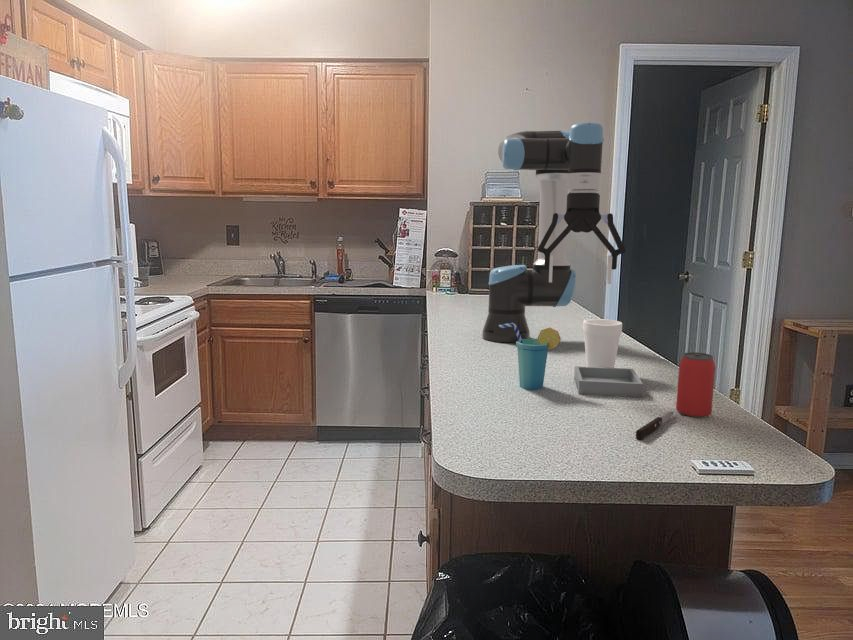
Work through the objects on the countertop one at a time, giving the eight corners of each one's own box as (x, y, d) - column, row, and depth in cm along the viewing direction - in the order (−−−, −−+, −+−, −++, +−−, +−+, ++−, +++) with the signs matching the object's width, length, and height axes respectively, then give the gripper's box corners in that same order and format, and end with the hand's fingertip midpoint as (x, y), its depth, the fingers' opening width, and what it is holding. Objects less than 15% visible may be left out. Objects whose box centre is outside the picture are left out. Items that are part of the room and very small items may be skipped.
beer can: (709, 410, 126) (714, 353, 124) (712, 420, 120) (718, 360, 118) (674, 406, 128) (679, 350, 126) (676, 416, 122) (681, 357, 120)
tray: (574, 378, 150) (574, 366, 149) (632, 380, 148) (632, 368, 147) (578, 393, 137) (579, 380, 136) (642, 397, 135) (643, 383, 134)
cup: (498, 390, 139) (499, 325, 136) (496, 381, 147) (497, 319, 144) (560, 392, 138) (563, 326, 136) (555, 382, 146) (558, 320, 143)
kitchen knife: (640, 442, 108) (641, 431, 108) (635, 440, 109) (635, 429, 109) (676, 417, 122) (676, 407, 122) (671, 416, 123) (671, 406, 122)
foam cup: (620, 378, 150) (623, 326, 148) (581, 376, 152) (584, 324, 150) (616, 369, 159) (619, 319, 157) (580, 367, 161) (582, 318, 159)
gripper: (529, 191, 142) (526, 282, 146) (641, 191, 138) (635, 285, 141) (530, 193, 150) (527, 279, 153) (636, 192, 145) (631, 282, 149)
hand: (579, 282), depth 147 cm, fingers open, 13 cm apart
